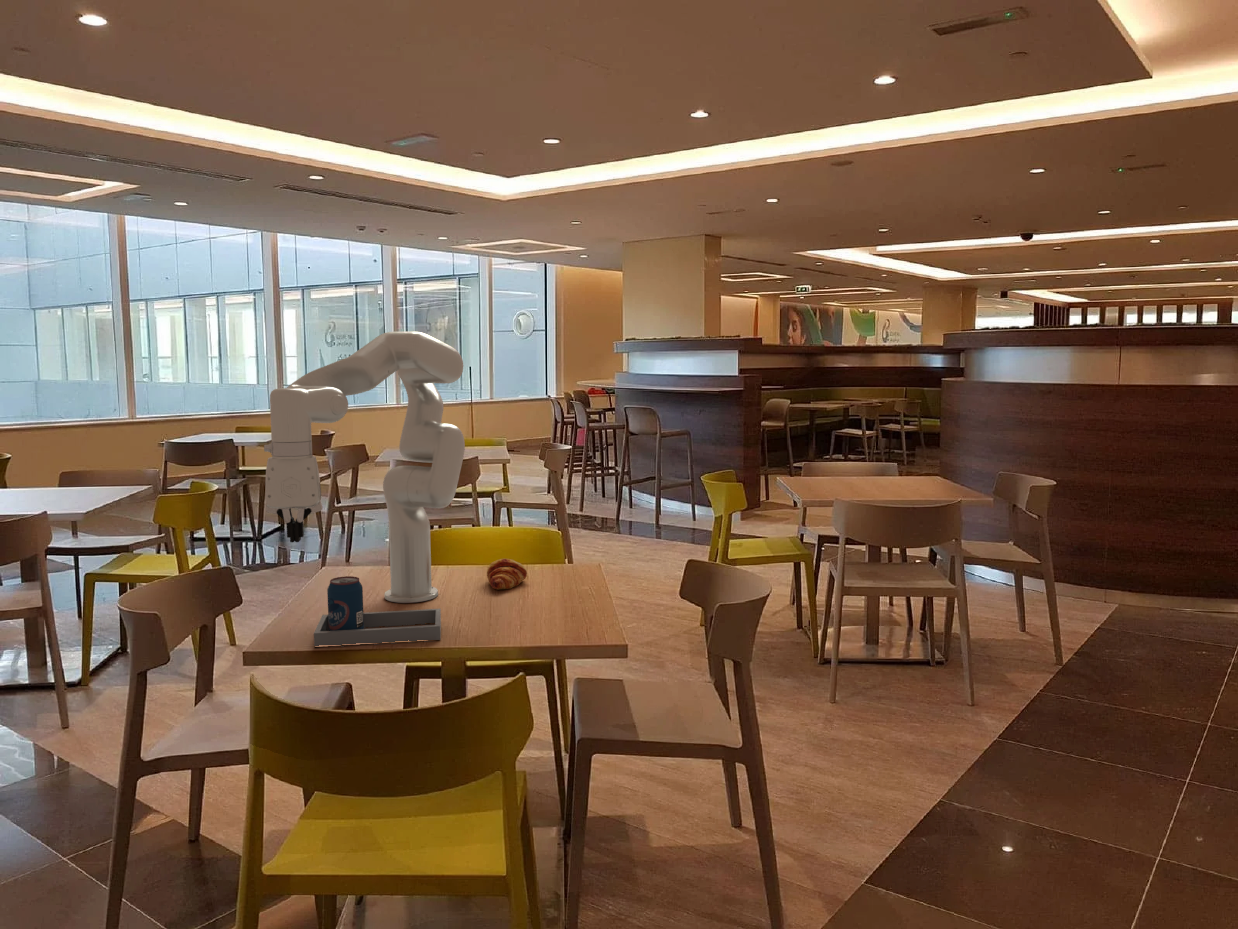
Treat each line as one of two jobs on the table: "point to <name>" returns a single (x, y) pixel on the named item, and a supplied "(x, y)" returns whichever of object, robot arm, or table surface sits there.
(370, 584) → the table surface
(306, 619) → the table surface
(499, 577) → the croissant
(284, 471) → the robot arm
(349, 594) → the soda can
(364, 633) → the plastic frame
